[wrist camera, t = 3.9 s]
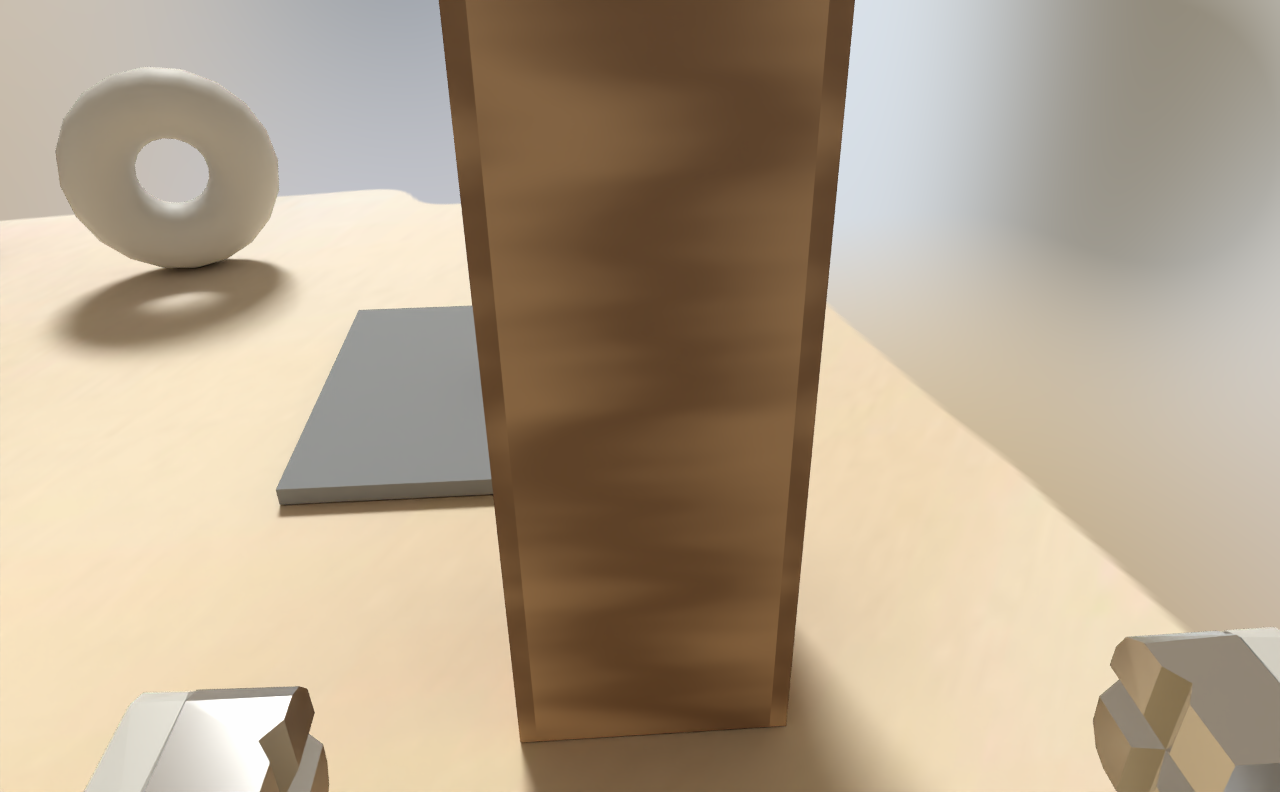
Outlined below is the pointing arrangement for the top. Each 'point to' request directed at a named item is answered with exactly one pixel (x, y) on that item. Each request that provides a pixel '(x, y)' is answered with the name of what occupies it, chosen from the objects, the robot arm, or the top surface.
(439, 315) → the mat
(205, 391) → the top surface
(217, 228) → the donut
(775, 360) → the block
